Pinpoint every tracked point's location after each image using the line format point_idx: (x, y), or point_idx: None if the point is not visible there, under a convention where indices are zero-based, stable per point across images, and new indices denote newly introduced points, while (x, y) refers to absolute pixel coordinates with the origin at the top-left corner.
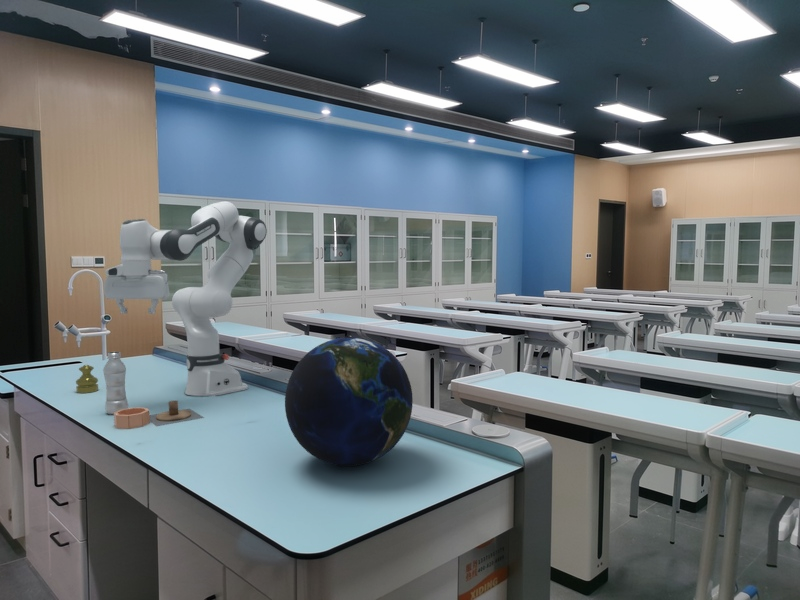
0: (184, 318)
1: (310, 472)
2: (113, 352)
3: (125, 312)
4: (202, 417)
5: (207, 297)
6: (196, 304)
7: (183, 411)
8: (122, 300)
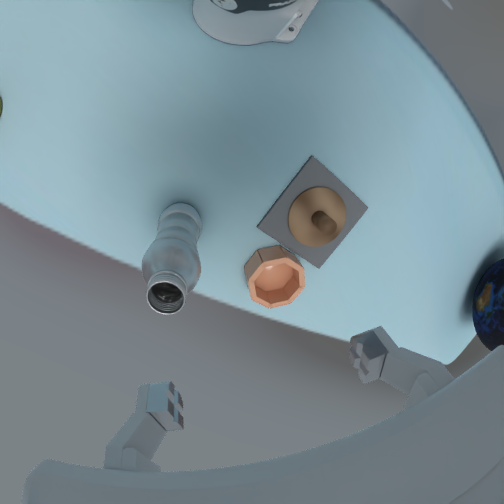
0: None
1: (465, 306)
2: (150, 287)
3: (179, 397)
4: (365, 208)
5: None
6: None
7: (326, 197)
8: (146, 469)
